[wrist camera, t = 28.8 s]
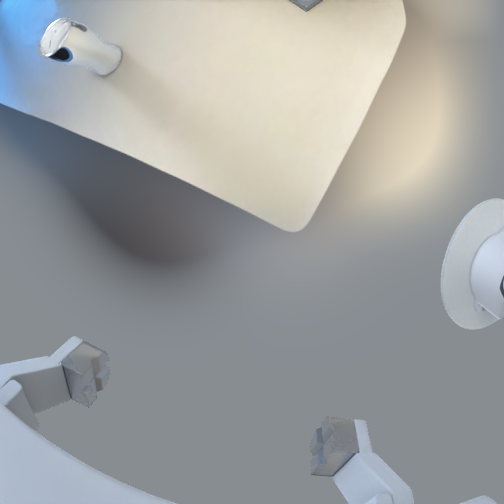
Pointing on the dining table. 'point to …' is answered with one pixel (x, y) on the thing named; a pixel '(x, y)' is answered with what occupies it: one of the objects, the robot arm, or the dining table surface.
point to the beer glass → (78, 47)
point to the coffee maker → (306, 3)
